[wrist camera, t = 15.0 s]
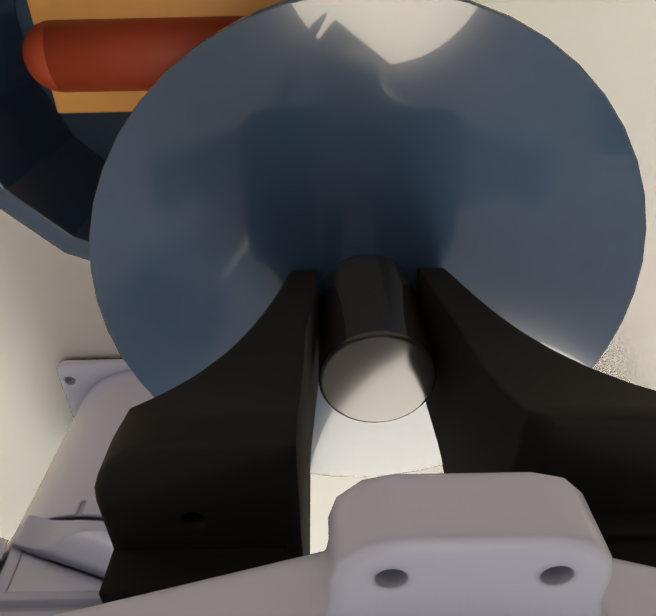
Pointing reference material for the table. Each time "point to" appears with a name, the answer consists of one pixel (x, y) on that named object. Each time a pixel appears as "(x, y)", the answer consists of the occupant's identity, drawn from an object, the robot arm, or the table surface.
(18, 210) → the pot
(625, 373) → the table surface
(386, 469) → the pot lid
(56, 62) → the hot dog
